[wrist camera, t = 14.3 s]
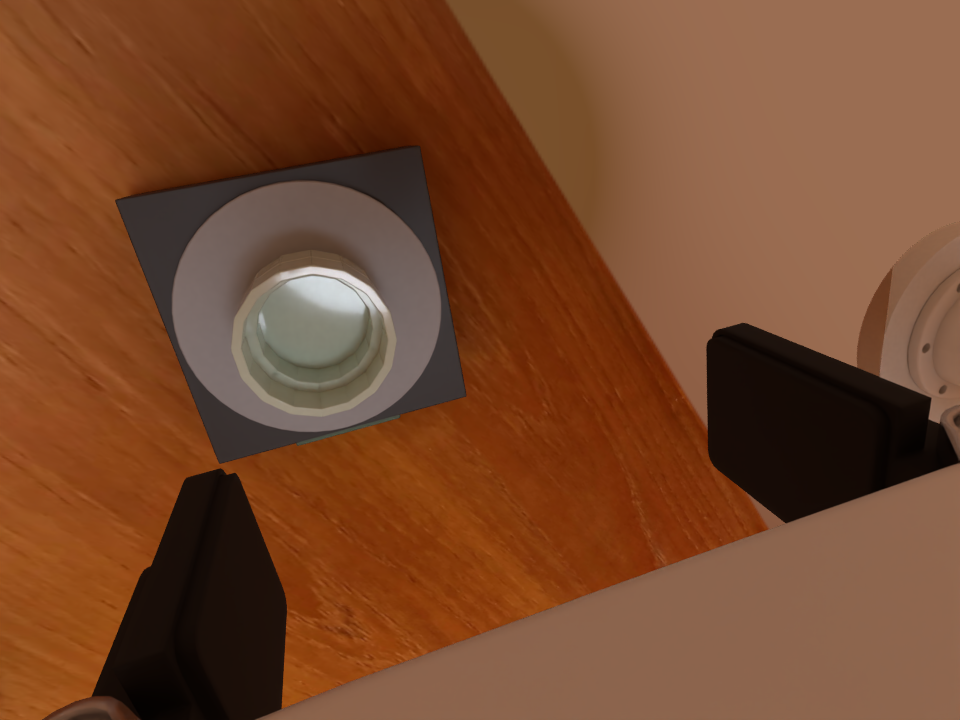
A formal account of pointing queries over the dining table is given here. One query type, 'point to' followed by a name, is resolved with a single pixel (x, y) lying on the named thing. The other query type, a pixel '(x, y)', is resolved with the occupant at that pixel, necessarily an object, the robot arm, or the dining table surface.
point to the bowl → (313, 334)
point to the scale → (284, 230)
